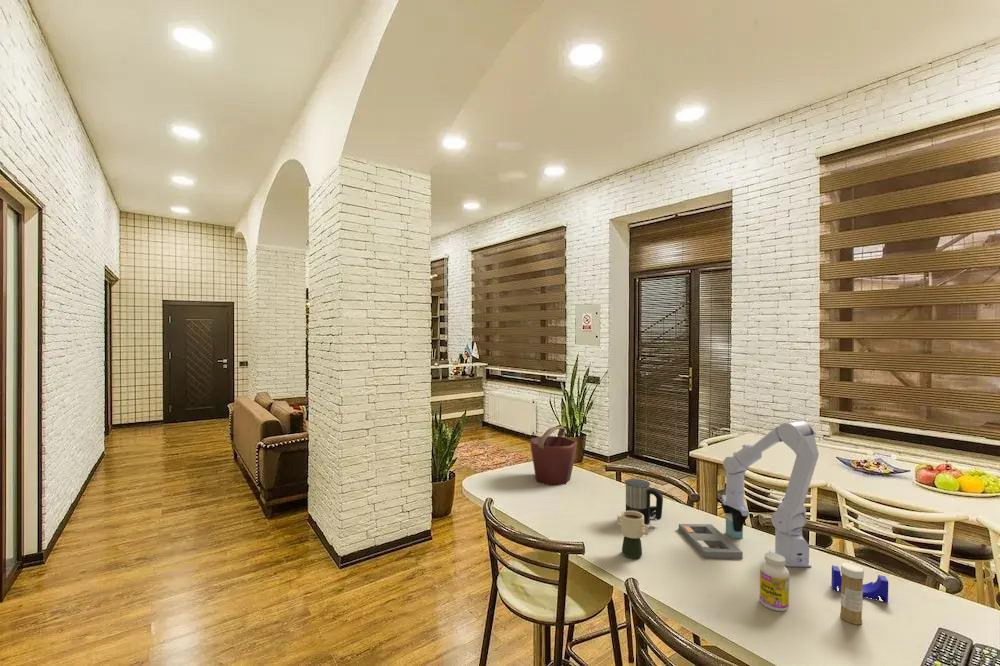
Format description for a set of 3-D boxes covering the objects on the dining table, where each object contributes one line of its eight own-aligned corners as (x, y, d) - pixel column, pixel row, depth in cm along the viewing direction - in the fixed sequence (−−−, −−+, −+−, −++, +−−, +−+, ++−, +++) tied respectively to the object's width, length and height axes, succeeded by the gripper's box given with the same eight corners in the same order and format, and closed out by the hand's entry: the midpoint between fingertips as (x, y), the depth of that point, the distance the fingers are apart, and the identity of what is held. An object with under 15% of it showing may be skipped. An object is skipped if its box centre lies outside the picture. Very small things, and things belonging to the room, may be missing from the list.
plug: (744, 538, 160) (744, 518, 160) (730, 538, 160) (731, 518, 160) (737, 532, 164) (737, 513, 164) (724, 532, 164) (724, 513, 164)
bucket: (554, 469, 236) (555, 421, 236) (587, 480, 219) (588, 428, 219) (519, 478, 220) (520, 427, 220) (552, 491, 203) (553, 435, 203)
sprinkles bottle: (841, 611, 118) (842, 560, 118) (863, 619, 115) (864, 566, 115) (838, 619, 115) (839, 566, 115) (861, 628, 112) (862, 573, 112)
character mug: (653, 557, 145) (653, 516, 145) (642, 565, 140) (643, 523, 140) (622, 545, 153) (623, 507, 153) (611, 552, 148) (611, 512, 148)
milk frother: (624, 524, 170) (625, 485, 170) (623, 508, 185) (624, 472, 185) (664, 529, 166) (665, 488, 166) (660, 512, 182) (661, 475, 181)
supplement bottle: (755, 603, 121) (756, 555, 121) (764, 594, 125) (765, 548, 125) (783, 615, 116) (784, 565, 116) (792, 606, 120) (793, 557, 120)
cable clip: (883, 595, 126) (883, 573, 126) (887, 603, 122) (888, 581, 122) (830, 583, 132) (830, 562, 132) (833, 591, 128) (833, 570, 128)
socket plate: (742, 558, 145) (742, 551, 145) (705, 558, 145) (705, 550, 145) (711, 529, 166) (711, 523, 166) (678, 529, 166) (678, 523, 166)
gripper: (714, 483, 169) (713, 519, 169) (734, 497, 154) (733, 537, 155) (732, 483, 169) (732, 519, 169) (755, 497, 155) (754, 537, 155)
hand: (734, 528), depth 162 cm, fingers closed on plug, 4 cm apart
